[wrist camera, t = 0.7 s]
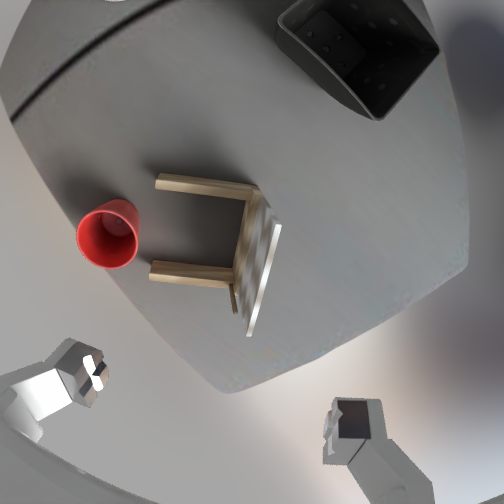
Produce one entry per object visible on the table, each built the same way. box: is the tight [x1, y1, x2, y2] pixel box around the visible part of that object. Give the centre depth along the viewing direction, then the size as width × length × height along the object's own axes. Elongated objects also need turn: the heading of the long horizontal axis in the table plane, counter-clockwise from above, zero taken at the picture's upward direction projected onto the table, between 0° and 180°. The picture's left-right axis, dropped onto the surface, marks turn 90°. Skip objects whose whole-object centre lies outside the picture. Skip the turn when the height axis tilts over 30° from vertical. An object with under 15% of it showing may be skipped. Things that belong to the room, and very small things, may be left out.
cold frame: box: [149, 173, 282, 337], centre depth 47 cm, size 19×18×18 cm
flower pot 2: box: [274, 0, 441, 122], centre depth 35 cm, size 19×19×17 cm
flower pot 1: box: [76, 199, 139, 269], centre depth 47 cm, size 11×11×10 cm
